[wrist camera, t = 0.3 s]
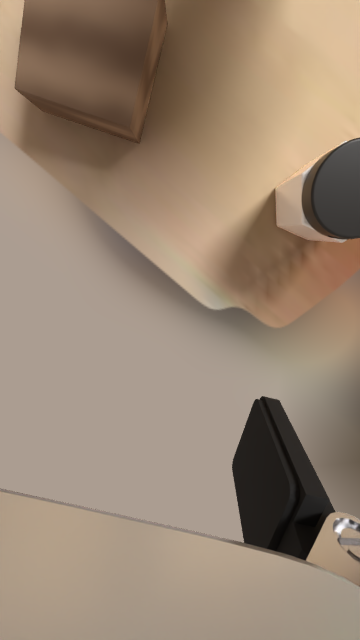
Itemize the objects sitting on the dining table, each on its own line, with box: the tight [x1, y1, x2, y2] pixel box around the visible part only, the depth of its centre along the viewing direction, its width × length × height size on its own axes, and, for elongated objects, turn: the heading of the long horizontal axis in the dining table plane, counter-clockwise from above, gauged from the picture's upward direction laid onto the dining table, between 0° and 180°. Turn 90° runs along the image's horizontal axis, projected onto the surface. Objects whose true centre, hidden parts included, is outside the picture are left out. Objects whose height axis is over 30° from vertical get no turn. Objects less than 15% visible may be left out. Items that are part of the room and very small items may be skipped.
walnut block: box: [15, 0, 167, 143], centre depth 31 cm, size 12×12×6 cm
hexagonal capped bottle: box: [275, 138, 360, 242], centre depth 31 cm, size 9×8×12 cm
